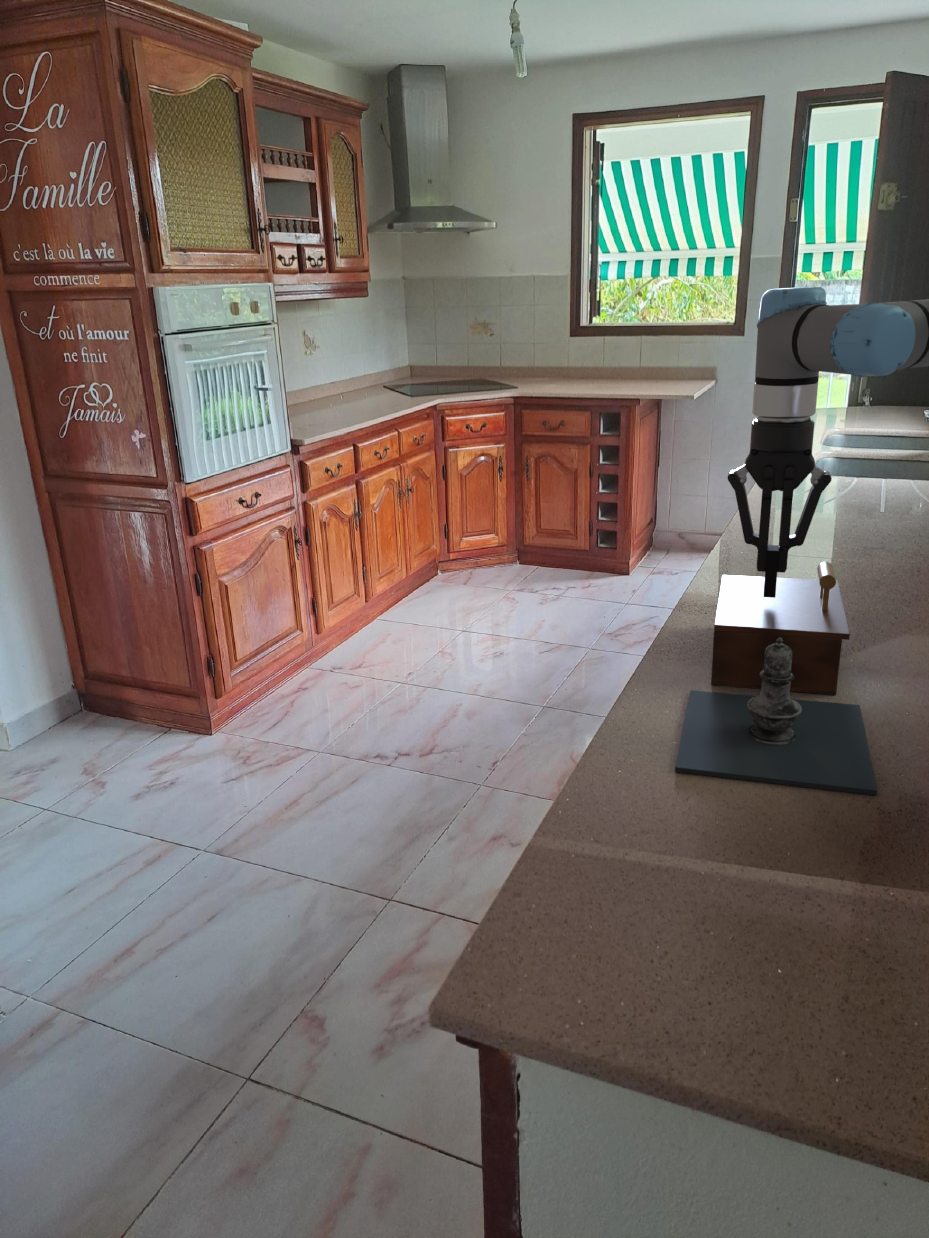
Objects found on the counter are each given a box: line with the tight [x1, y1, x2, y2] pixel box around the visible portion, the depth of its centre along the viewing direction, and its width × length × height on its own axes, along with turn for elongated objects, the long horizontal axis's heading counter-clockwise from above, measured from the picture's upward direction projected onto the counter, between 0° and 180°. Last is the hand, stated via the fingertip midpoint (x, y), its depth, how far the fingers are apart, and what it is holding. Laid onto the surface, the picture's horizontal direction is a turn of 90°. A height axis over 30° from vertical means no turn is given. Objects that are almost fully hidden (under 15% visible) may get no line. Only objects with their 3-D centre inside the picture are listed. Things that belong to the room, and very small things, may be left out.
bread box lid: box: [713, 561, 851, 641], centre depth 118 cm, size 16×21×6 cm
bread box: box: [710, 629, 843, 696], centre depth 121 cm, size 15×21×8 cm
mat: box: [674, 689, 878, 796], centre depth 101 cm, size 20×20×1 cm
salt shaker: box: [747, 637, 802, 745], centre depth 99 cm, size 6×6×12 cm
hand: (769, 593), depth 119 cm, fingers closed
